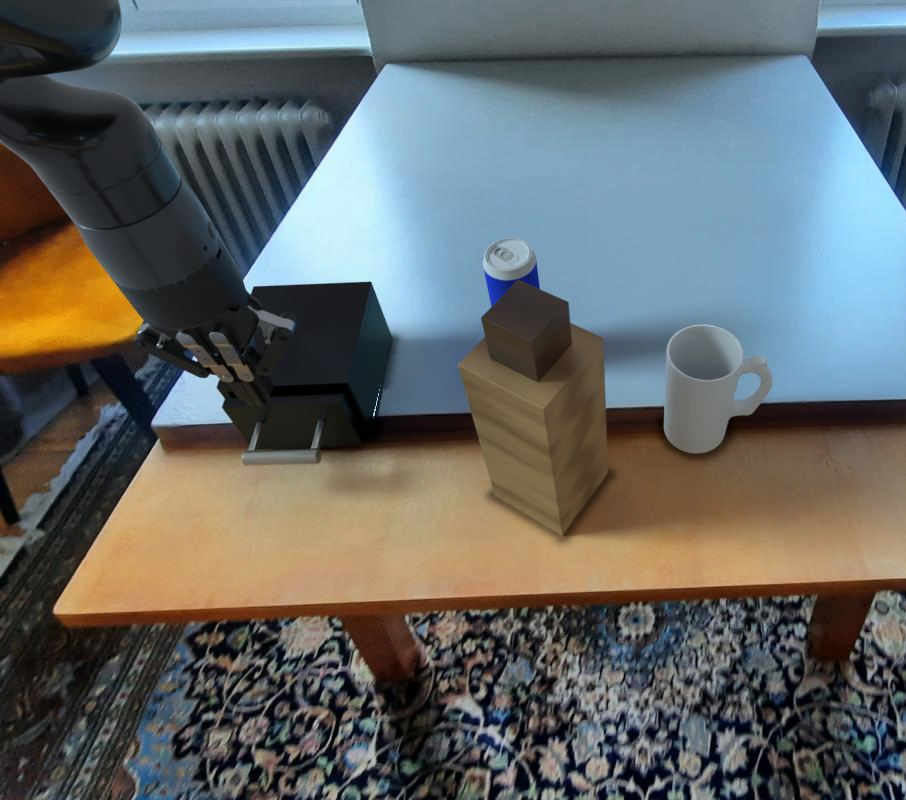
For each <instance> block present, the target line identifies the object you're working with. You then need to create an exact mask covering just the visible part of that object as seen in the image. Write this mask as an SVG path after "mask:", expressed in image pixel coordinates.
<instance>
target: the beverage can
mask: <svg viewBox="0 0 906 800" xmlns="http://www.w3.org/2000/svg"><path fill="white" fill-rule="evenodd" d="M482 268H483V273H484V278H485V283H486V288H487V293H488V297H489V302H490V308H491V307H492V306H493V305H494V304H495V303H496V302H497V301H498V300H499V299H500V298H501V297H502V296H503V295H504V294H505V293H506V292H507V291H508V290H509V289H510V288H511V287H512V286H513V285H514V283H515V282H516V281H517V280H520V281H523V282H525V283H527V284H529V285H532V286H534V287H536V288H538V289H541V286H540V279H539V277H540V276H539V269H538V261H537V256H536V253H535V252H534V250H533V248H532V246H531V245H530V244H529V243H528V242H527V241H526V240H524V239H521V238H516V237H506V238H501V239H498V240H496V241H494V242H493V243H491V244H490V245H489V246H488V247H487V248H486V250H485V253H484V256H483V260H482Z"/></svg>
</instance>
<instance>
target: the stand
mask: <svg viewBox="0 0 906 800" xmlns="http://www.w3.org/2000/svg"><path fill="white" fill-rule="evenodd" d="M570 325H571V337H572V344H571V345H570V346H569V347H568V349H567V350H566V351H565V352H564V353H563V354H562V356H561V357H560V358H559V359H558V360H557V361H556V363H555V364H554V365H553V366H552V367H551V368H550V370H549V371H548V372H547V373H546V374H545V375H544V376H543V378H542V379H541V380H540V381H539V382H536V381H534V380H532V379H530V378H528V377H526V376H524V375H522V374H520V373H518V372H516V371H514V370H512V369H510V368H508V367H506V366H504V365H502V364H500V363H498V362H496V361H494V360H492V359H490V356H489V351H488V347H487V343H486V338H485V336H484V337H483V338H482V339H480V341H479V342H478V343H477V344H476V345H475V347H473V348H472V350H470V352H468V354H467V355H465V357H464V358H463V359H462V360H461V361H460V362H459V363H457V367H458V371H459V375H460V378H461V381H462V385H463V388H464V391H465V394H466V398H467V403H468V406H469V410H470V412H471V416H472V421H473V424H474V428H475V431H476V434H477V437H478V442H479V445H480V448H481V451H482V456H483V459H484V463H485V466H486V470H487V473H488V477H489V480H490V483H491V487H492V491H493V494H494V497H496V498H498V499H499V500H501V501H502V502H504V503H506V504H507V505H509V506H511V507H513V508H514V509H516V510H518V511H520V512H521V513H523V514H525V515H526V516H528V517H529V518H531V519H533V520H535V521H536V522H538V523H540V524H541V525H543V526H545V527H546V528H548V529H550V530H552V531H554V532H555V533H557V534H558V535H559V536H564V534H565V533H566V531H568V529H569V528H570V527H571V525H572V523H573V522H574V521H575V519H576V518H577V516H578V515H579V514H580V512H581V511H582V510H583V508H584V507H585V505H586V504H587V503H588V501H589V500H590V499H591V497H592V496H593V495H594V493H595V492H596V491H597V490H598V488H599V486H600V485H601V484H602V483H603V481H604V480H605V479H606V477H607V475H608V474H609V466H608V463H609V462H608V435H607V432H608V431H607V408H606V407H607V404H606V403H607V401H606V375H605V374H606V373H605V372H606V371H605V370H606V369H605V343H604V342H605V340H604V339H605V337H602V336H600V335H598V334H596V333H594V332H592V331H590V330H588V329H586V328H584V327H583V328H582V327H581V326H578V325H576V324H574V323H572V322H570Z"/></svg>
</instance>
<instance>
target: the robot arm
mask: <svg viewBox="0 0 906 800" xmlns="http://www.w3.org/2000/svg"><path fill="white" fill-rule="evenodd" d="M122 17H123V15H122V8H121V4H120V0H0V143H1V145H3V146H5V147H6V149H8V150H9V151H11V152H12V153H14V154H15V155H17V156H18V157H19V158H20V159H21V160H22V161H24V162H25V163H26V164H28V165H29V166H30V168H32V169H33V171H34V172H35V173H36V175H37V176H38V178H39V179H40V180H41V182H42V184H44V186H45V187H46V188H47V189H48V191H49V192H50V193H51V194H52V196H53V197H54V199H55V200H56V201H57V202H58V204H59V205H60V207H61V208H62V209H63V211H64V212H65V213H66V215H67V216H68V217H69V218H70V220H71V221H72V223H73V224H74V225H75V228H76V229H77V231H78V233H79V234H80V236H81V238H82V240H83V242H84V244H85V246H86V247H87V249H88V250H89V251H90V253H91V254H92V256H93V257H94V258H95V260H96V261H97V263H98V264H99V265H100V266H101V268H102V269H103V270H104V271H105V273H106V274H107V275H108V277H109V278H110V279H111V281H112V282H113V283H114V284H115V285H116V287H117V288H118V289H119V291H120V292H121V294H122V295H123V296H124V297H125V299H126V300H127V301H128V302H129V304H130V306H132V308H133V309H134V311H135V312H136V313H137V314H138V315H139V317H140V318H141V319H142V320H143V321H142V323H141V325H140V327H139V328H138V331H137V333H136V335H135V338H134V340H133V342H132V344H133V346H134V347H136V348H137V349H139V350H141V351H143V352H145V353H147V354H149V355H152V356H153V357H154V358H155V357H156V358H158V359H159V360H162V361H164V362H166V363H168V364H169V365H172V366H174V367H176V368H178V369H180V370H183V371H184V372H187V373H189V374H190V375H193V376H194V377H197V378H199V379H200V378H201V379H207V378H209V376H210V375H212V376H216V377H217V378H218V379H220V380H222V381H224V382H227V383H228V385H229V386H230V388H231V389H232V390H233V392H234V393H235V395H236V396H237V397H238V398H239V399H240V400H242V401H245V403H246V404H247V405H248V406H259V405H266V403H267V400H269V399H270V396H271V393H272V389H273V382H272V380H271V379H270V377H269V376H270V375H271V374H272V372H273V371H274V369H275V367H276V366H277V364H278V362H279V361H280V359H281V357H282V355H283V354H284V352H285V350H286V349H287V347H288V345H289V344H290V341H291V338H292V335H293V332H294V328H295V325H296V322H297V316H296V315H295V314H294V313H291V312H283V313H282V314H281V316H280V317H279V316H276V315H274V314H271V313H269V312H266V311H263V309H262V305H261V303H260V302H259V301H258V300H257V299H256V298H255V297H253V296H252V295H251V292H249V291H248V290H247V288H246V286H245V283H244V278H243V275H242V273H241V271H240V269H239V267H238V264H237V263H236V261H235V260H234V258H233V256H232V254H231V253H230V251H229V249H228V247H227V246H226V244H225V242H224V240H223V238H222V236H221V235H220V233H219V232H218V230H217V228H216V226H215V224H214V222H213V221H212V220H211V218H210V216H209V214H208V213H207V211H206V209H205V208H204V206H203V204H202V202H201V201H200V199H199V197H198V196H197V195H196V193H195V192H194V190H193V189H192V188H191V187H190V186H189V184H188V183H187V182H186V181H185V179H184V178H183V176H182V174H181V172H179V170H178V167H177V166H176V164H175V163H174V161H173V158H172V157H171V156H170V153H169V152H168V151H167V149H166V146H164V143H163V142H162V140H161V138H160V137H159V135H158V133H157V131H156V129H155V128H154V126H153V124H152V123H151V121H150V120H149V118H148V116H147V115H146V114H145V112H144V110H143V109H142V108H141V107H140V106H139V105H138V104H137V103H136V102H135V101H134V100H133V99H131V98H130V97H128V96H126V95H124V94H122V93H119V92H116V91H112V90H107V89H101V88H94V87H85V86H81V85H79V86H78V85H74V84H69V83H65V82H63V81H60V80H57V79H55V78H53V77H51V76H50V75H54V74H63V73H71V72H78V71H81V70H82V71H83V70H86V69H89V68H93V67H95V66H97V65H99V64H101V63H102V62H104V61H105V60H106V59H107V58H109V56H110V55H111V54H112V53H113V52H114V50H115V48H116V47H117V45H118V42H119V40H120V37H121V32H122V24H123V23H122ZM257 326H259V327H260V328H261V329H262V331H263V332H262V335H263V337H264V338H266V339H265V343H266V344H265V345H264V348H263V350H260V351H258V349H257V347H256V345H255V342H254V332H255V330H256V328H257ZM186 351H188V352H190V353H191V354H192V355H193V356H194V358H195V359H196V360H194V359H192V358H190V357H188V356H187V355H186V353H185V352H186Z"/></svg>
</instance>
